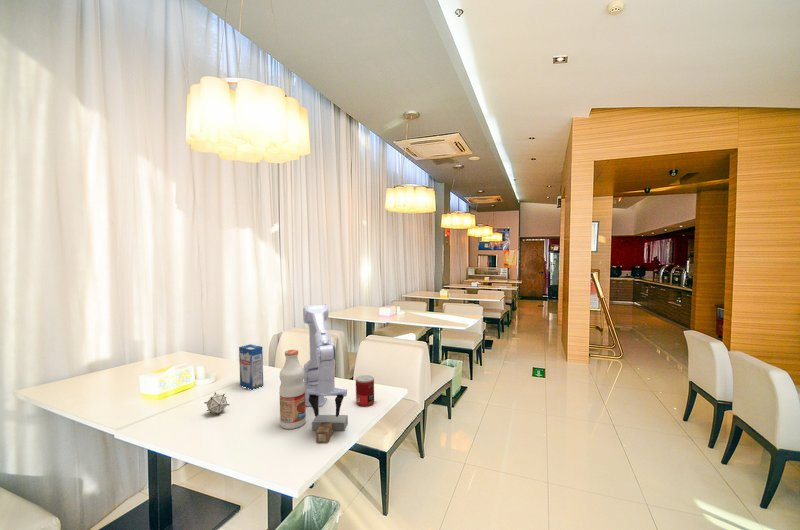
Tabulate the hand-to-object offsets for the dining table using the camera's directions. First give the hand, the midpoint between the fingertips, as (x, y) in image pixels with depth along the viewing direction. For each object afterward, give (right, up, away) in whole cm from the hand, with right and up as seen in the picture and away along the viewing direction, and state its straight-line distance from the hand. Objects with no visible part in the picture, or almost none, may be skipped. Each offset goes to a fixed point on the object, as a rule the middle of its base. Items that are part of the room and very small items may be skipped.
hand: (327, 415), depth 124 cm
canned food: (+11, -6, +25) cm, 28 cm away
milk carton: (-47, -6, +46) cm, 66 cm away
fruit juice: (-15, -6, +7) cm, 17 cm away
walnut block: (0, -4, 0) cm, 4 cm away
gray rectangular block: (0, -6, +4) cm, 7 cm away
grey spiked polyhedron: (-49, -7, +17) cm, 52 cm away
